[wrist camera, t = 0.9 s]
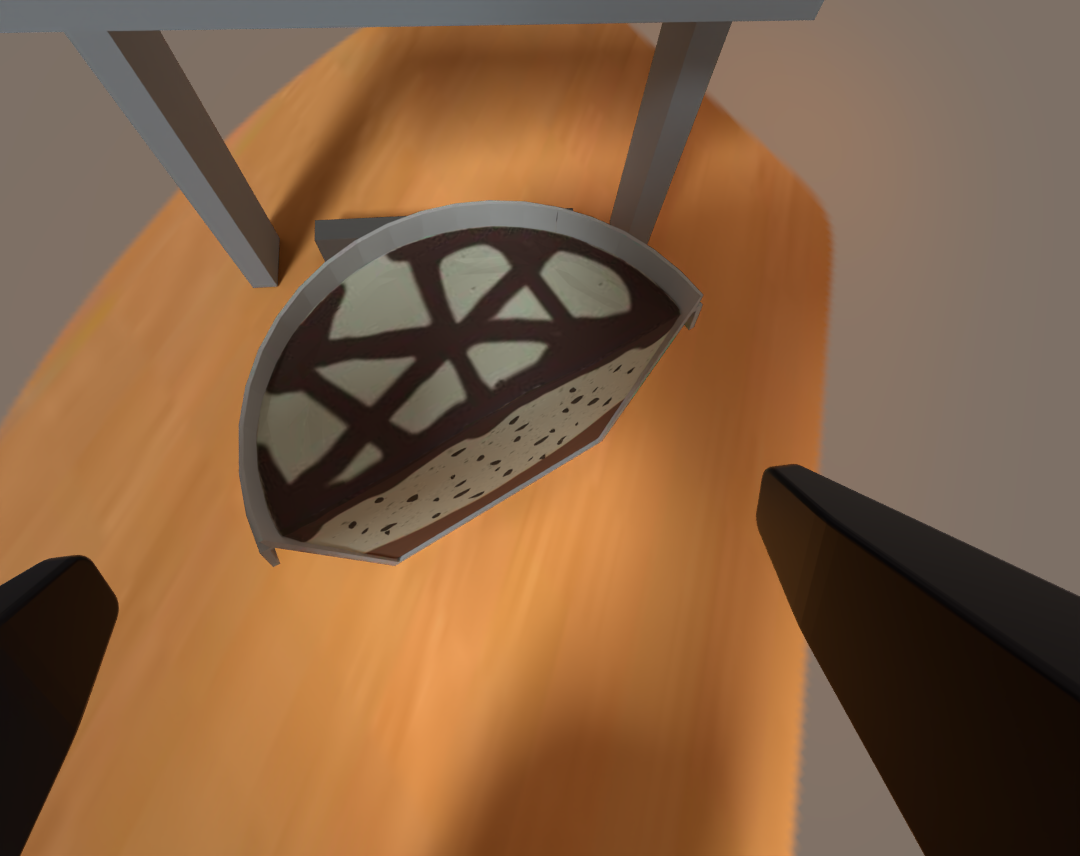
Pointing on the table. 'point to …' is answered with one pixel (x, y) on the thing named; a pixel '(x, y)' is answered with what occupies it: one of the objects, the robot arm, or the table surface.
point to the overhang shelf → (261, 3)
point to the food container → (446, 373)
